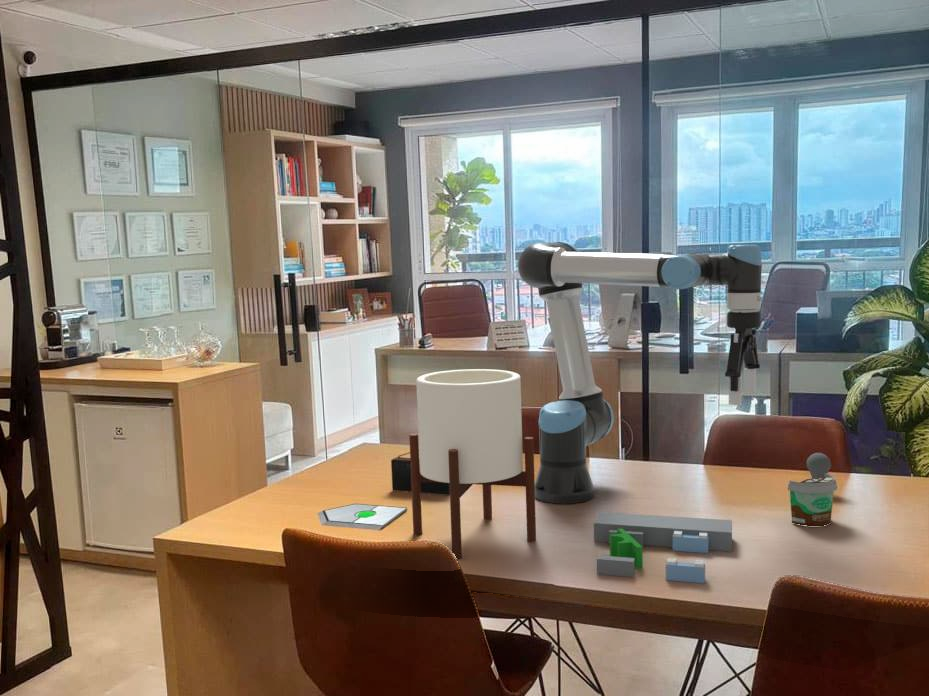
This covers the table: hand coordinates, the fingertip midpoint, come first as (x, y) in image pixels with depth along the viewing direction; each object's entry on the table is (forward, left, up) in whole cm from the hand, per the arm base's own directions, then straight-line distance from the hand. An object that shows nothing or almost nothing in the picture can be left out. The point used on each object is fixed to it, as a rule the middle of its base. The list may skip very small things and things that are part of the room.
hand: (742, 400), depth 200 cm
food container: (+16, -13, -25) cm, 32 cm away
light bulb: (+18, +12, -25) cm, 33 cm away
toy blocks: (-16, -40, -25) cm, 50 cm away
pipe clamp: (-23, -43, -26) cm, 55 cm away
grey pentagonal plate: (-89, -30, -26) cm, 97 cm away
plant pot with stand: (-56, -38, -25) cm, 72 cm away
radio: (-79, -7, -25) cm, 83 cm away
